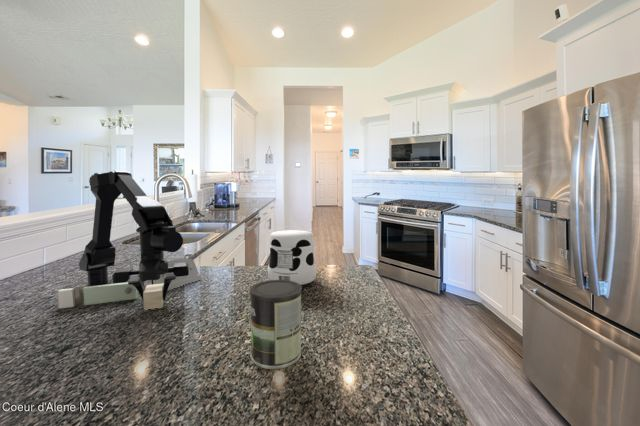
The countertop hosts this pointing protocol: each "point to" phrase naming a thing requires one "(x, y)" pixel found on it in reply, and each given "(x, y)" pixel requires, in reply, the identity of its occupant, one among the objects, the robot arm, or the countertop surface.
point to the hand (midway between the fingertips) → (154, 301)
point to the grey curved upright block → (180, 280)
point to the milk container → (292, 256)
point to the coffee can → (275, 323)
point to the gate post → (78, 295)
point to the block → (153, 296)
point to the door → (109, 293)
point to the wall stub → (66, 298)
